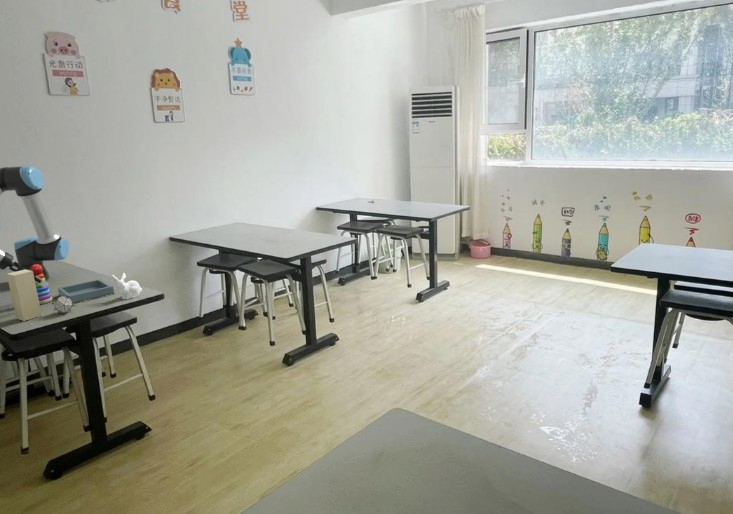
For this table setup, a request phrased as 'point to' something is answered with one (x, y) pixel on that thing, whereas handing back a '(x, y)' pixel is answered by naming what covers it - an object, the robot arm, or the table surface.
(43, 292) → the stacking toy
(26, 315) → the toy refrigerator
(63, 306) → the game die
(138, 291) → the rabbit
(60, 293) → the tray
